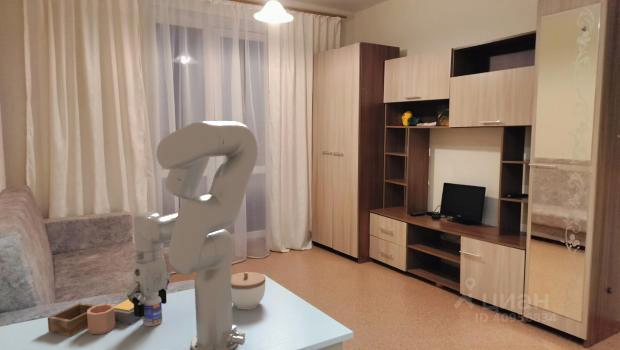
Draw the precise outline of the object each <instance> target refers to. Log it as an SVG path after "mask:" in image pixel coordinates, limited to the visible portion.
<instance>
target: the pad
mask: <svg viewBox="0 0 620 350" xmlns="http://www.w3.org/2000/svg"><path fill="white" fill-rule="evenodd" d="M121 302H122V301H121ZM119 303H120V302H119ZM117 304H118V303H117ZM115 305H116V304H115ZM114 309H116V310H122V311H128V312H129V311H131V310H133V309H134V304H132V302H131V301H129V299H128V300H126V301H124V302H122V303H120V304H118V305H116V306H114Z"/></svg>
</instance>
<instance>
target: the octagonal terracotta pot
mask: <svg viewBox="0 0 620 350" xmlns="http://www.w3.org/2000/svg"><path fill="white" fill-rule="evenodd" d="M114 305H115V304H111V303H102V304H96V306H94V307H91V308H89V309H88V310H87V320H88V328H87V331H88V333H89V334H90V335H102V334H106V333H109V332H111V331H113V330H115V328H116V322H115V311H114Z"/></svg>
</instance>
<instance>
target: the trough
mask: <svg viewBox="0 0 620 350" xmlns="http://www.w3.org/2000/svg"><path fill="white" fill-rule="evenodd" d="M96 305H97V304H96ZM96 305H95V304H91V303H90V304H89V303H84V302H78V303H76V304H74V305H72V306H70V307H68V308H66V309H64V310H61V311H59V312H57V313H55V314H53V315H50V316H48V317H47V326H48V327H47V329H48V332H49V333H52V334H57V335H62V336H67V337H72V336H74V335H76V334H78V333H80V332H82V331H84V330H85V329H86V330H87V329H88V320H87V310H88V309H89V308H91V307H94V306H96Z"/></svg>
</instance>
